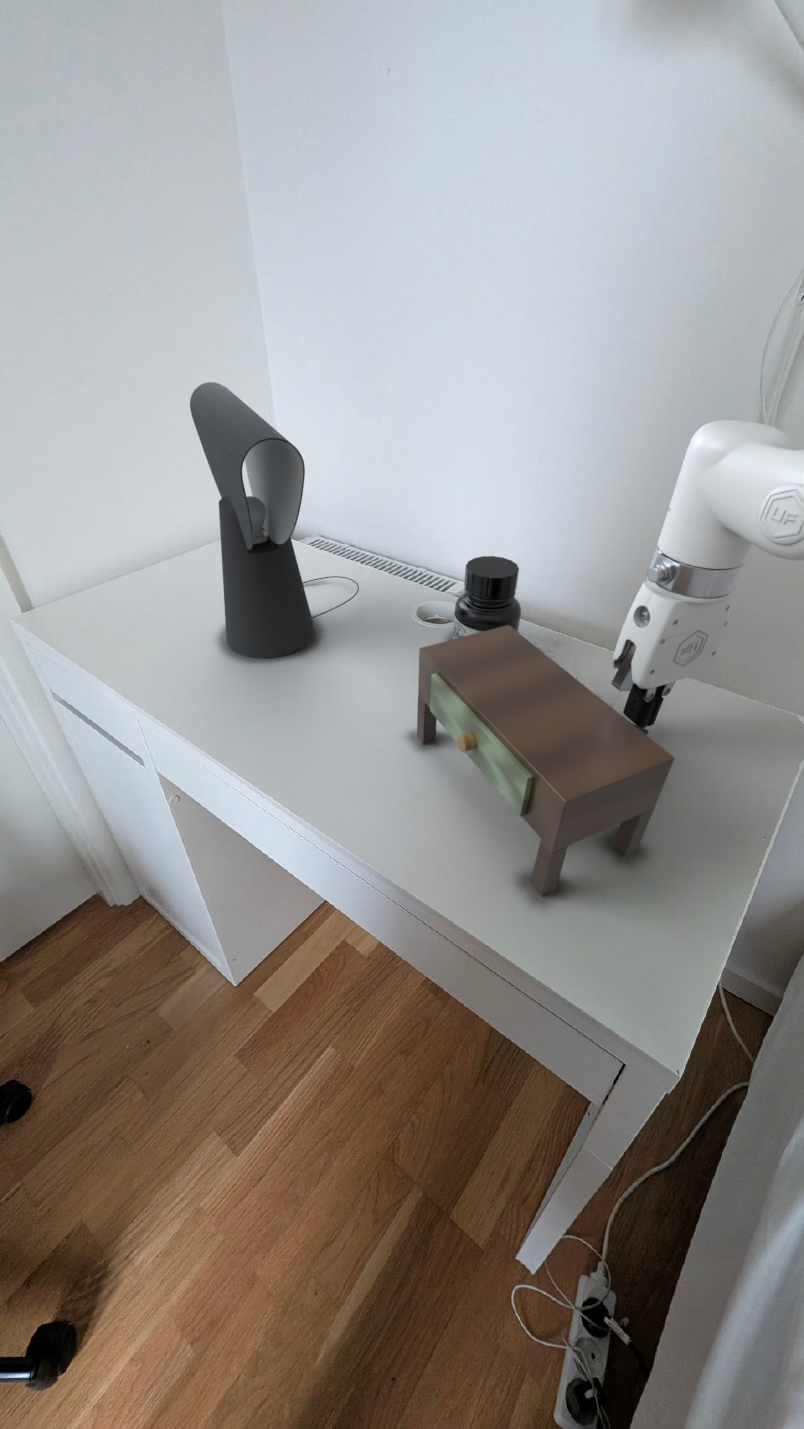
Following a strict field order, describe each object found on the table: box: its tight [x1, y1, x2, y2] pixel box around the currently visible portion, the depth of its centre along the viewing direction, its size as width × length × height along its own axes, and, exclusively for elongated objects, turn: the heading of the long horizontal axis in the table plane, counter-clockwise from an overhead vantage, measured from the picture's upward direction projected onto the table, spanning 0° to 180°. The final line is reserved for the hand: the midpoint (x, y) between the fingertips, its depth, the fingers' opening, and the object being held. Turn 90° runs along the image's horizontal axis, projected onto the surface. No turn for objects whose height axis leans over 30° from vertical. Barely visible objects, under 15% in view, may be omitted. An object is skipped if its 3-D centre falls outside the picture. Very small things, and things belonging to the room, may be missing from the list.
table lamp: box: [189, 381, 360, 659], centre depth 80 cm, size 40×28×30 cm
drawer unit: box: [416, 625, 675, 897], centre depth 56 cm, size 24×13×12 cm, turn 26°
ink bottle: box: [452, 555, 522, 640], centre depth 78 cm, size 10×9×12 cm
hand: (637, 719), depth 66 cm, fingers closed
